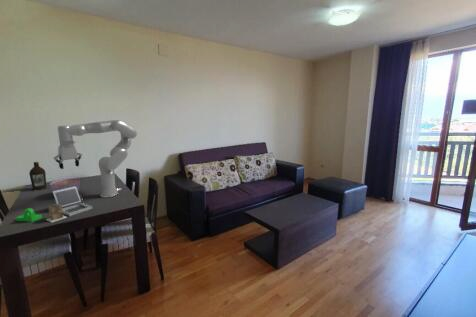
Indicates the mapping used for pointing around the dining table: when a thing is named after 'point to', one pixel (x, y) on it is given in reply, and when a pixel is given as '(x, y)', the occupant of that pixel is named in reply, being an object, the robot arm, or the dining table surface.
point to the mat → (56, 219)
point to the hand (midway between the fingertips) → (69, 167)
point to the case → (70, 200)
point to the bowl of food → (64, 184)
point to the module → (55, 211)
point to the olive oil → (38, 177)
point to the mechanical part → (28, 216)
